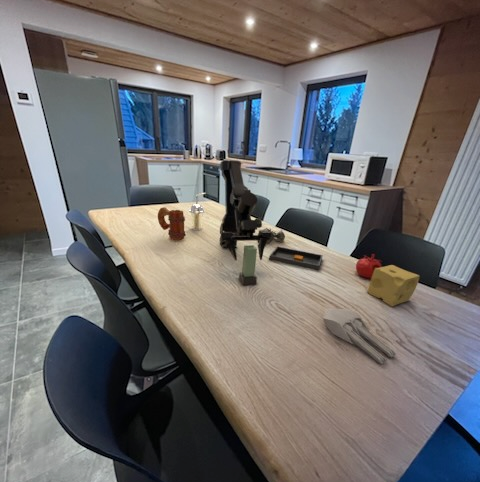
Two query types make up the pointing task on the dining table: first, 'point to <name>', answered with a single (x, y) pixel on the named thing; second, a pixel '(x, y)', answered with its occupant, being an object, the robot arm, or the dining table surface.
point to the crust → (298, 258)
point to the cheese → (392, 284)
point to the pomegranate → (367, 266)
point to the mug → (172, 223)
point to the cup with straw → (196, 214)
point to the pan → (288, 256)
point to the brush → (248, 266)
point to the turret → (355, 331)
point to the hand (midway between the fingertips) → (248, 260)
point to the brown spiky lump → (279, 236)
